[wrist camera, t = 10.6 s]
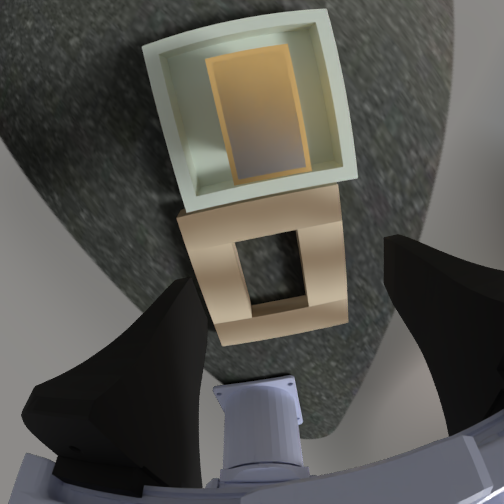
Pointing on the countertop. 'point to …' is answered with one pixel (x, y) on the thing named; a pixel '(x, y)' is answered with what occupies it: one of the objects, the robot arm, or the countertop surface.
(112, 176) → the countertop surface
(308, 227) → the wooden frame
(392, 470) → the robot arm
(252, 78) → the tan rectangular block
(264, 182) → the parts tray
